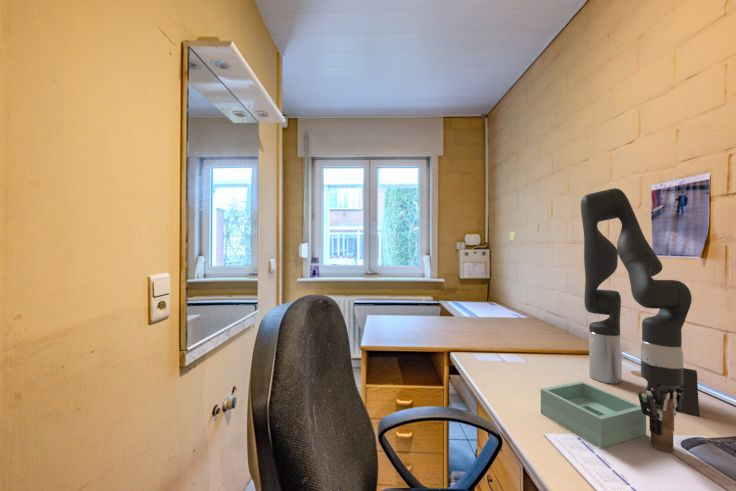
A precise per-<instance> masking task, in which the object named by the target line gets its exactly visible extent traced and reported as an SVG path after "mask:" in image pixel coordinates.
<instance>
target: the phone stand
mask: <svg viewBox="0 0 736 491" xmlns="http://www.w3.org/2000/svg"><path fill="white" fill-rule="evenodd" d="M678 387H680V388H683V389H684V395H683V401H682V406H681V411H680V413H684V414H688V415H691V416H697V417H700V404H699V403H700V402H699V388H698V387H699V386H698V371H697V370H696V369H690V368H685V367H683V385H682V386H678Z"/></svg>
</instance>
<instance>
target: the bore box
mask: <svg viewBox="0 0 736 491" xmlns="http://www.w3.org/2000/svg"><path fill="white" fill-rule="evenodd" d="M540 413H541V414H542V415H543V416H546V417H547V418H549V419H551V420H552V421H554V422H556V423H558V424H559V425H561V426H562V427H564V428H565V429H568V430H569V431H571V432H573V433H575V434H576V435H578V436H580V437H582V438H583V439H584V440H586V441H588V442H589V443H591V444H593V445H595V446H596V447H598V448H599V449H605V448H607V447H610V446H614V445H617V444H620V443H624V442H627V441H631V440H634V439H637V438H641V437H644V436H647V415H644V414H643V413H642V409H641V405H640V404H638V403H635V402H634V401H631V400H628V399H626V398H623V397H621V396H619V395H616V394H613V393H611V392H610V391H607V390H604V389H601V388H599V387H597V386H594V385H592V384H589V383H588V382H585V381H582V380H581V381H576V382H572V383H570V382H569V383H566V384H561V385H553V386H550V387H549V386H548V387H543V388H540Z"/></svg>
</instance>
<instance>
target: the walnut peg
mask: <svg viewBox="0 0 736 491" xmlns="http://www.w3.org/2000/svg"><path fill="white" fill-rule="evenodd" d="M654 403H655V402H654ZM655 405H657V406H661V405H660V404H657V403H655ZM656 412H658V410H657V409H656ZM650 445H651V446H652V447H653V448H655V449H657V450H659V451H662V452H665V453H673V452H674V431H673V400H671V399H669V400H668V402H667V408H666V411H664V412H663V416H662V435H660V436H659V435H656V434H654V433H652V432H651V431H650Z"/></svg>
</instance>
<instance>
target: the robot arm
mask: <svg viewBox="0 0 736 491" xmlns="http://www.w3.org/2000/svg"><path fill="white" fill-rule="evenodd" d="M580 213H581V214H580V215H581V221H582V230H583V246H584V247H583V264H584V276H585V277H584V278H585V280H584V281H585V284H584V298H583V299H584V307H585V310H586V311H587V312H588V313H590V314H596V315H604V316H605V315H606V316H608V318H607V317H606V319H603V320H600V321H594V322H591V323H589V325H588V330H589V331H588V334H589V335H588V339H589V340H588V341H589V342H588V345H589V346H588V349H589V351H588V353H589V355H588V357H589V360H588V361H589V362H588V366H589V367H588V368H589V369H588V370H589V372H588V373H589V377H590V378H592V379H593V380H595V381H597V382H601V383H604V384H605V383H606V384H616V385H617V384H620V383H621V381H622V376H623V374H622V366H623V365H622V354H621V311H622V310H621V308H622V297H621V294H620V292H619V291H617V290H609V289H598V288H599V287H600V285H601V284H602V283H604V282H605V281H606V280H608V279H609V278H610V277H611V276H612V275H613V274H614V273H615V272H616V270H617V269H618V261H619V259H618V257H619V258H620V260H621V262H622V264H623V266H624V268H625V270H626V271H627V273H628V278H629V279H628V280H629V283H630V284H629V285H630V289H631V295H632V298H633V299H634V301H635V302H636V303H638V305H640V306H641V307H643V308H646V309H655V310H656V309H658V312H657V314H655V315H653V316H649V317H645V318H644V319H643V320H642V323H641V346H640V376H641V377H642V378H643V379H644V380H646V382H647V384H646V389H645V392H642V391H638V392H637V397H638V400H639V405H641V409H642V413H643V414H644V415H646V417H649V419H648V420H649V432H650V433H651V432H652V433H654V434H656V435H659V436H660V435H662V416H663V412H664V411H666V408H667V402H668V400H669V399H671V400H673V432H674V431H675V417H677V413H678V414H680V413H681V412H680V411H681V406H682V401H683V395H684V389H683V388H680V387H678V386H682V385H683V368H684V353H683V346H682V345H683V341H682V340H683V338H682V329H683V326H684V324H685V323H686V319H687V316H688V314H689V311H690V308H691V305H692V300H693V298H692V293H691V290H690V288H689V287H688V286H687V285H686V284H685V283H684V282H682V281H680V280H676V279H655V278H654V279H653V277H655V276H656V275H658V274H660V273H661V272H662V271H663V264H662V262H661V260H660V258H658V255H657V254H656V253H655V252H654V250H653V248H652V246H650V244H649V242H648V240H647V238H646V237H645V235H644V233H643V231H642V228H641V226H640V223H639V221H638V219H637V216H636V214H635V211H634V209H633V207H632V205H631V203H630V201H629V198H628V197H627V195H626V194H625V192H624V191H623V190H621V188H616V187H615V188H608V189H606V190H605V189H604V190H599V191H596V192H592V193H588V194H584V195H583V196H582V198H581V200H580ZM613 219H614V220H615V219H619V221H620V223H621V229H620V233H619V236H618V240H617V243H616V245H615V244H614V243H613V242H612V241H611V240H609V239H608V238H607V236H605V235H604V234H603V233H602V232H601V231H600V230H599V228H598V224H599V223H600V222H605V221H609V220H613ZM654 402H655V403H657V404H660V405H661V406H657V405H655V403H654ZM656 409H657V410H658V412H656Z"/></svg>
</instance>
